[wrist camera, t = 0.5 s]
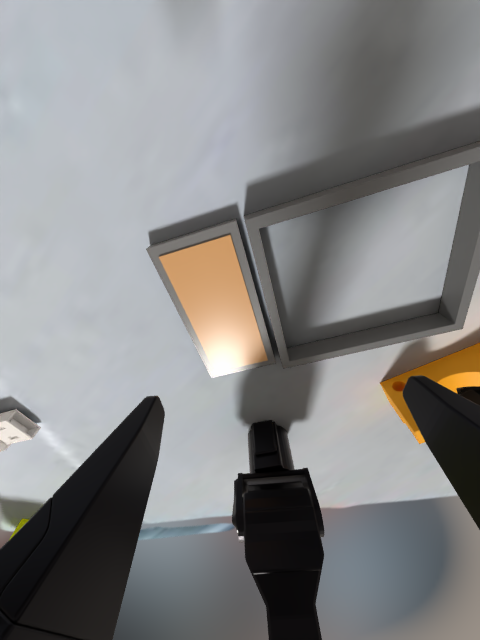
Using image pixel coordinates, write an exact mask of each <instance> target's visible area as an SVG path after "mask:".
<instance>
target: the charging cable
mask: <svg viewBox="0 0 480 640" xmlns="http://www.w3.org/2000/svg"><path fill="white" fill-rule="evenodd" d="M40 428H41V427H39V426H38V425H37V424H35V423H34V422H33V421H31V420H30V419H29V418H27V417H26V416H25V415H23V414H22V413H21V412H19V411H18V410H17V409H16V410H12V411H8V412H4V413H0V452H1V451H4V450H7V448H8V447H9V446H10V445H11V444H12V443H17V442H21V441H25V440H30V439H33V437H34V436H35V435H36V433H37V432H38V431H39V429H40Z"/></svg>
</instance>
